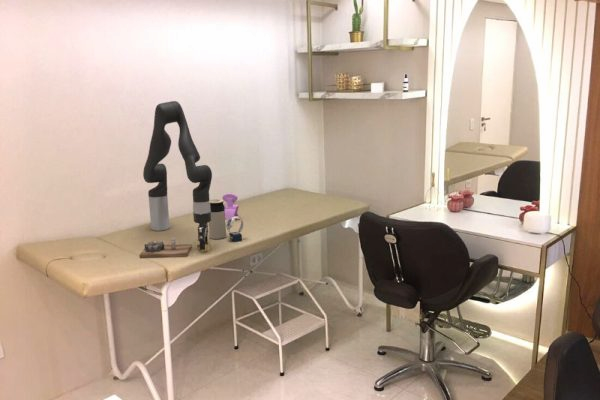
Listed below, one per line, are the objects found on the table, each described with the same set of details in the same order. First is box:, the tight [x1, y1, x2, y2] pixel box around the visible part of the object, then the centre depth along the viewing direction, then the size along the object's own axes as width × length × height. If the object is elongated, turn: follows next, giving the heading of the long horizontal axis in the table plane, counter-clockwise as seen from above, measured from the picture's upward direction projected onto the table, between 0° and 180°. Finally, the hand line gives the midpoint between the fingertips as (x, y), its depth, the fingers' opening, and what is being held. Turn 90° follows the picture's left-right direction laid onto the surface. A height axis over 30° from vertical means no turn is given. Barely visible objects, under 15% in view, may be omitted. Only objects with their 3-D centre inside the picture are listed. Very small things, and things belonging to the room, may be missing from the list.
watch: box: [226, 217, 245, 243], centre depth 249 cm, size 6×8×11 cm
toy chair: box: [221, 192, 239, 220], centre depth 286 cm, size 8×9×15 cm
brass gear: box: [196, 240, 212, 253], centre depth 237 cm, size 6×6×3 cm
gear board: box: [139, 237, 193, 259], centre depth 233 cm, size 13×20×6 cm, turn 93°
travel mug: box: [208, 198, 227, 240], centre depth 254 cm, size 8×8×18 cm
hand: (203, 246), depth 236 cm, fingers open, 8 cm apart
